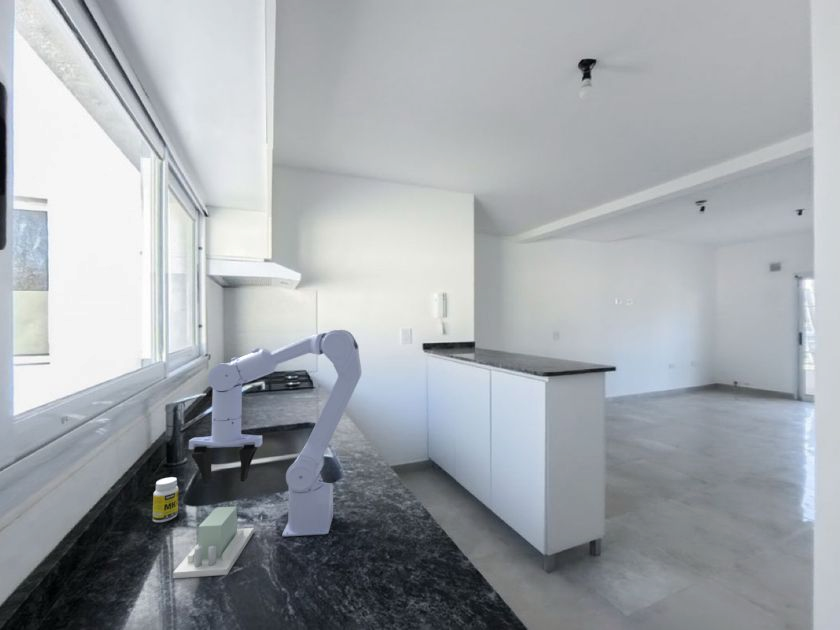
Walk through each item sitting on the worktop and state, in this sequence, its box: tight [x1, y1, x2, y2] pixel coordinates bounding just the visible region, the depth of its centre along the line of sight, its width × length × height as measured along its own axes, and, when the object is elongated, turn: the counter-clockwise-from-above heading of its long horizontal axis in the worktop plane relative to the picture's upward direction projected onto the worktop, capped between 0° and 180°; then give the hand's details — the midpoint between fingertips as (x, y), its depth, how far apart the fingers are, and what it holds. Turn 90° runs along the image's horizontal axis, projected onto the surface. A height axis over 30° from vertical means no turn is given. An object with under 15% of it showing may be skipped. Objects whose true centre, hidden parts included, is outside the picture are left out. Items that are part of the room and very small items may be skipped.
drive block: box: [197, 506, 238, 559], centre depth 69 cm, size 4×7×6 cm, turn 6°
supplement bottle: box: [152, 476, 179, 523], centre depth 82 cm, size 5×5×8 cm
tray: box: [172, 517, 255, 579], centre depth 69 cm, size 9×13×4 cm
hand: (225, 480), depth 78 cm, fingers open, 7 cm apart
